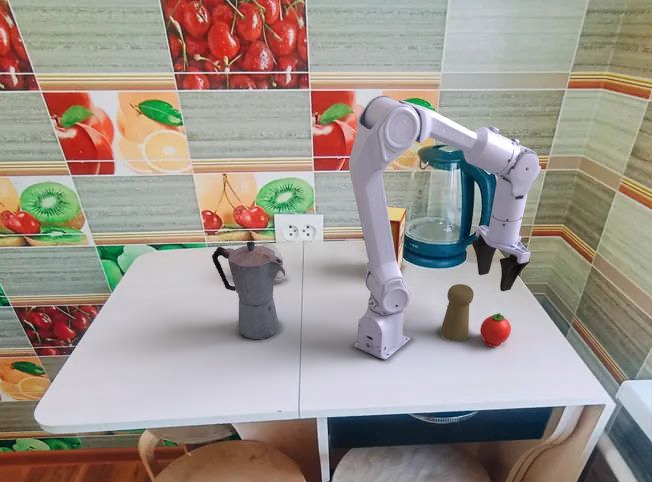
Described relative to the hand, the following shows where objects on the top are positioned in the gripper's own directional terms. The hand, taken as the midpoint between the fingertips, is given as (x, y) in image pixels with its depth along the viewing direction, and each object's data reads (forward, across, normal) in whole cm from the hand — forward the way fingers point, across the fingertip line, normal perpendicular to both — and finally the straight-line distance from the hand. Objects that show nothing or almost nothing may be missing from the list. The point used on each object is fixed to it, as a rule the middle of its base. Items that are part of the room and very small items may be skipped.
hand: (494, 281), depth 96 cm
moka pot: (+10, +18, +47) cm, 51 cm away
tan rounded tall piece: (+11, 0, +8) cm, 13 cm away
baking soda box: (+11, +32, +9) cm, 35 cm away
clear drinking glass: (+10, +41, +39) cm, 57 cm away
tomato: (+11, -6, +2) cm, 12 cm away
